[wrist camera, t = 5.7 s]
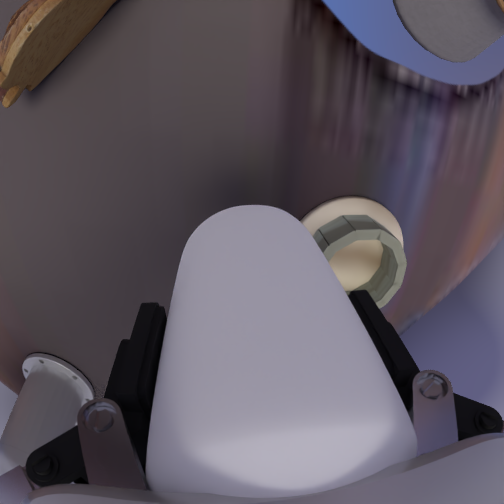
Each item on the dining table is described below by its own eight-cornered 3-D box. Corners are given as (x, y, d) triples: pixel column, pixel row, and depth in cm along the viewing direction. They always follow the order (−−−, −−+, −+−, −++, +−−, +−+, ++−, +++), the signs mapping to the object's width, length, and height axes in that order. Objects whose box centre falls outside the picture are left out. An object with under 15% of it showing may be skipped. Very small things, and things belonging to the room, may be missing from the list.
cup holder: (386, 299, 36) (401, 322, 32) (282, 309, 35) (289, 336, 31) (407, 196, 30) (430, 212, 26) (286, 196, 29) (297, 213, 25)
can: (332, 212, 14) (501, 450, 3) (298, 323, 17) (360, 541, 6) (187, 191, 13) (107, 505, 2) (177, 312, 16) (153, 554, 5)
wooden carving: (127, -44, 16) (90, -90, 8) (159, -23, 18) (130, -72, 9) (17, 89, 21) (-50, 98, 12) (43, 113, 23) (-23, 128, 14)
